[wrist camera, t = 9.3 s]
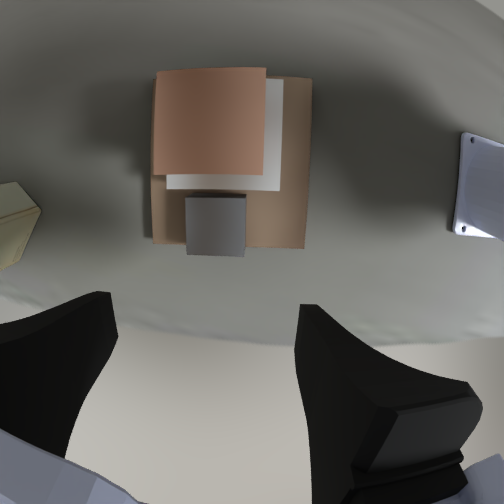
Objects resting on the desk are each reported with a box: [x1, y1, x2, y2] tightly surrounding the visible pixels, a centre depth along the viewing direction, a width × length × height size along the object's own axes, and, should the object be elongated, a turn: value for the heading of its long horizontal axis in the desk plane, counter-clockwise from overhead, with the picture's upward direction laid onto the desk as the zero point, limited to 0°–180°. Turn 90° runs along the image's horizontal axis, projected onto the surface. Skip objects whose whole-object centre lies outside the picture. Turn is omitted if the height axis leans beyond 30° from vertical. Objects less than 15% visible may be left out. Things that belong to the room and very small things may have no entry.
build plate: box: [151, 75, 312, 257], centre depth 17 cm, size 10×11×4 cm
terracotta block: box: [154, 67, 266, 175], centre depth 12 cm, size 4×4×5 cm
